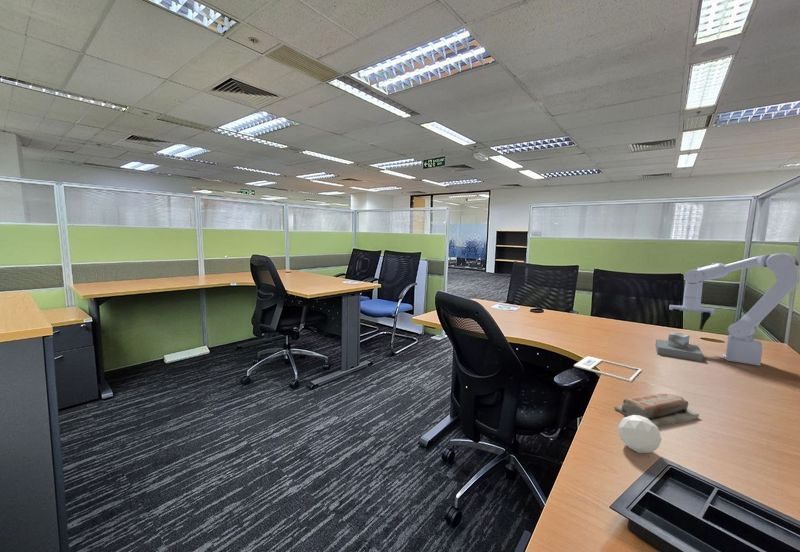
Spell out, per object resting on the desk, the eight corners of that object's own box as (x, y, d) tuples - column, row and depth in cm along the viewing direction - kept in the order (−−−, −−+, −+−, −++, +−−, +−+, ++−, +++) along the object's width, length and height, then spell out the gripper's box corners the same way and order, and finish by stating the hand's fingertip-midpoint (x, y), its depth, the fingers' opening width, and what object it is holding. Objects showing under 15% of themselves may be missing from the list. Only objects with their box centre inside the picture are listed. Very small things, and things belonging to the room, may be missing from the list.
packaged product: (651, 412, 82) (615, 394, 91) (649, 430, 82) (613, 410, 92) (701, 402, 87) (662, 386, 97) (699, 419, 88) (660, 402, 97)
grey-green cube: (688, 347, 138) (689, 335, 137) (682, 348, 135) (684, 337, 135) (673, 343, 142) (674, 332, 142) (667, 345, 140) (668, 333, 139)
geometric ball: (630, 454, 77) (631, 419, 80) (669, 462, 70) (669, 423, 73) (609, 443, 74) (611, 408, 78) (647, 450, 68) (648, 411, 71)
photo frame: (587, 355, 133) (641, 368, 120) (587, 358, 133) (641, 371, 120) (573, 364, 123) (631, 379, 110) (573, 367, 123) (630, 383, 110)
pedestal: (696, 352, 141) (697, 345, 140) (702, 361, 129) (703, 354, 129) (655, 345, 149) (656, 339, 148) (657, 354, 137) (657, 347, 137)
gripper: (713, 297, 141) (709, 328, 143) (670, 294, 150) (667, 323, 151) (716, 300, 136) (712, 332, 137) (671, 296, 144) (668, 326, 146)
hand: (689, 327), depth 144 cm, fingers open, 7 cm apart
